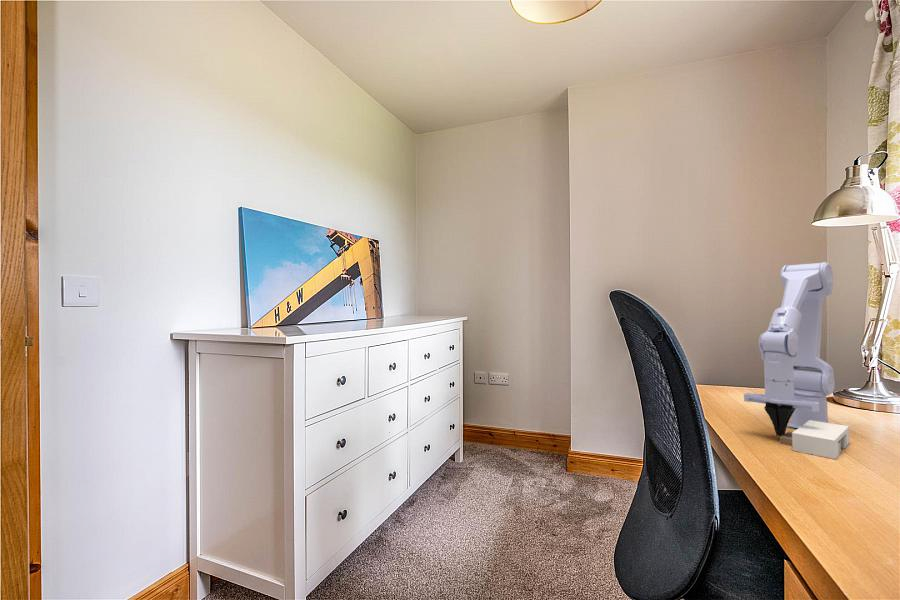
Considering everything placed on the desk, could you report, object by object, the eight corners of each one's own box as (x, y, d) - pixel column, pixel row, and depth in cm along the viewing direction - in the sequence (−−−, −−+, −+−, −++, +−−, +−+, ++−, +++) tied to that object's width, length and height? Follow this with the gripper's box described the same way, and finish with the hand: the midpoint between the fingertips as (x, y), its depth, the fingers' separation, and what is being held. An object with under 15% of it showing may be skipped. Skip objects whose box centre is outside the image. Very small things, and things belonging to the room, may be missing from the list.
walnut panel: (788, 439, 104) (788, 431, 104) (837, 448, 97) (836, 440, 97) (780, 445, 99) (779, 437, 99) (830, 455, 92) (829, 446, 92)
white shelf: (810, 436, 104) (809, 420, 104) (849, 443, 99) (849, 426, 99) (792, 450, 94) (791, 432, 94) (835, 459, 89) (834, 440, 89)
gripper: (739, 378, 106) (740, 431, 106) (813, 386, 95) (815, 446, 94) (748, 375, 110) (750, 426, 110) (820, 382, 99) (822, 439, 99)
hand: (780, 435), depth 103 cm, fingers closed
